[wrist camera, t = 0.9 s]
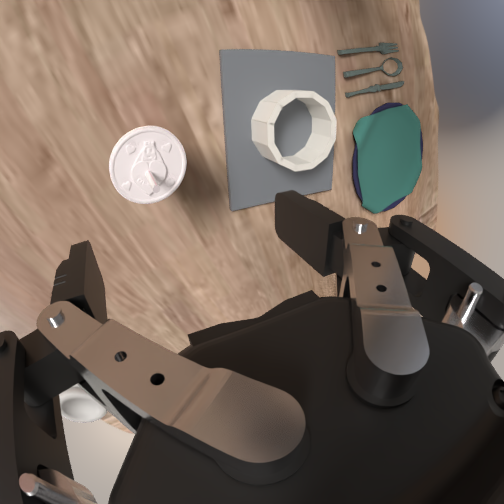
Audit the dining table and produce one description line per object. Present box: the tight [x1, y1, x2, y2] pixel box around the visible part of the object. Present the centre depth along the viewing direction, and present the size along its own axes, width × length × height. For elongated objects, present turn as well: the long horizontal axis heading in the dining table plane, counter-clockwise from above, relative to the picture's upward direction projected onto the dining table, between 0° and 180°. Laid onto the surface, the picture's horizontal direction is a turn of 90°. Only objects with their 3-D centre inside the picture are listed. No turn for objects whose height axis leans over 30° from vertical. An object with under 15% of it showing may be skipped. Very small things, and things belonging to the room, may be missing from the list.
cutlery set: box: [337, 43, 423, 213], centre depth 42 cm, size 20×30×2 cm, turn 16°
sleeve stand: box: [219, 49, 336, 211], centre depth 33 cm, size 20×16×5 cm
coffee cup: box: [59, 384, 107, 423], centre depth 32 cm, size 9×9×12 cm
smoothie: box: [109, 126, 187, 204], centre depth 24 cm, size 6×6×14 cm
